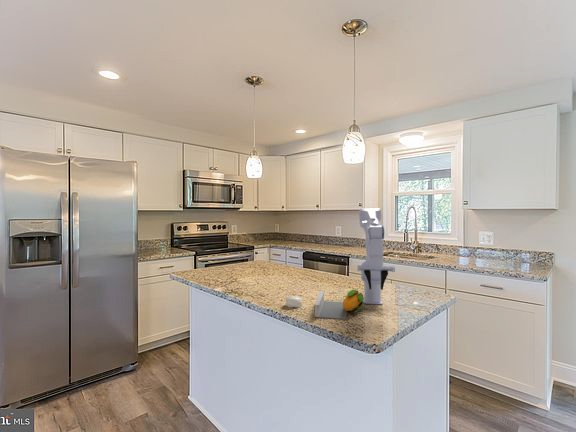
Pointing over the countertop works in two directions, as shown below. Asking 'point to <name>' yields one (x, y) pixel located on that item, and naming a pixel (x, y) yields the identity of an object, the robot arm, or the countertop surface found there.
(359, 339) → the countertop surface
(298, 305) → the white glossy round part
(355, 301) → the toy fruit
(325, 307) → the bracket
